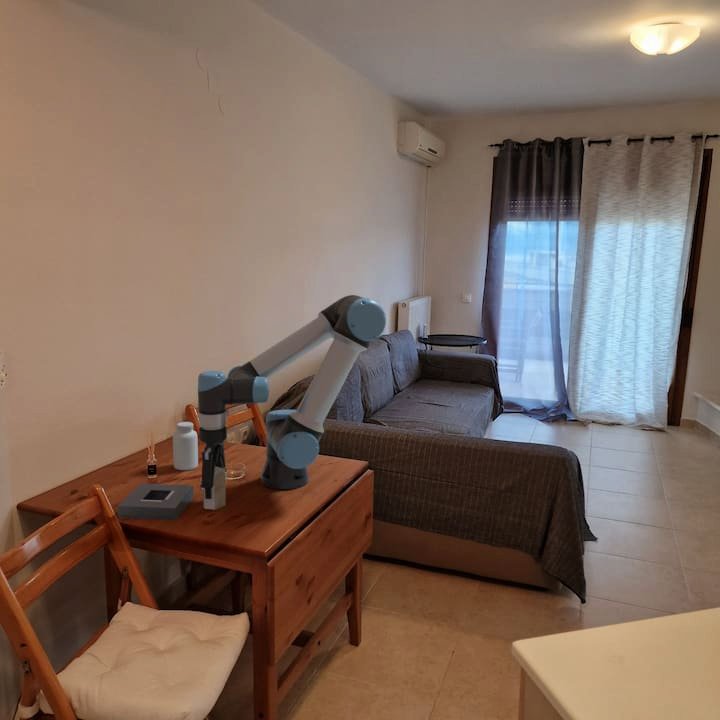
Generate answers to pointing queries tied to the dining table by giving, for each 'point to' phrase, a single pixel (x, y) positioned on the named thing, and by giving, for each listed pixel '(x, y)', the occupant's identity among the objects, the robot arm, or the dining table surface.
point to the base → (156, 501)
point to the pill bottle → (185, 447)
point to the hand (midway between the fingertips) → (214, 500)
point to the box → (218, 488)
